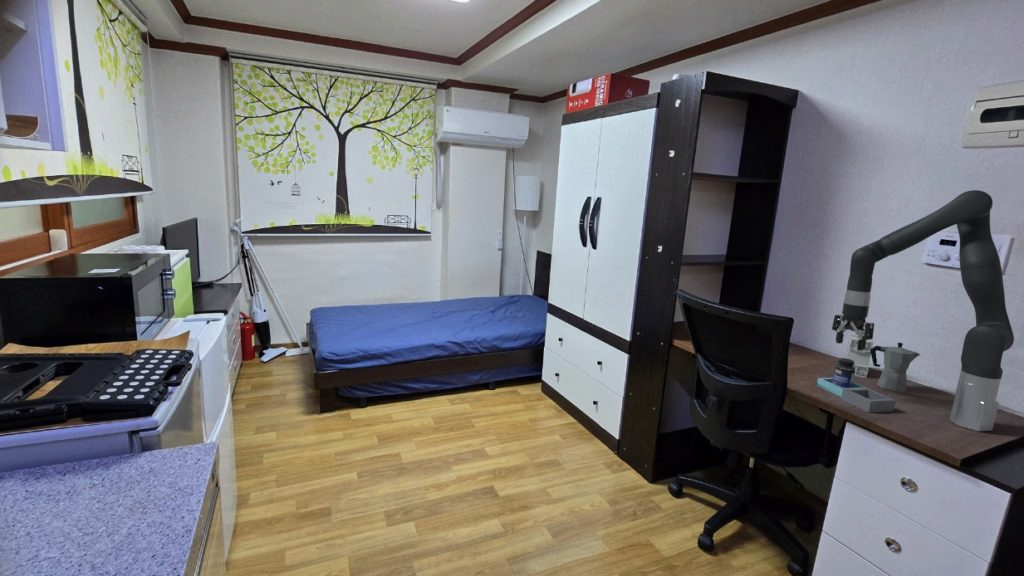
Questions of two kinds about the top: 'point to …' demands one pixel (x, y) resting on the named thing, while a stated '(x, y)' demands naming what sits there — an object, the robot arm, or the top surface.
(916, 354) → the coffeepot
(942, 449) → the top surface
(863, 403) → the holder
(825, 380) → the tray
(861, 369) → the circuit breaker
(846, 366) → the pill bottle
